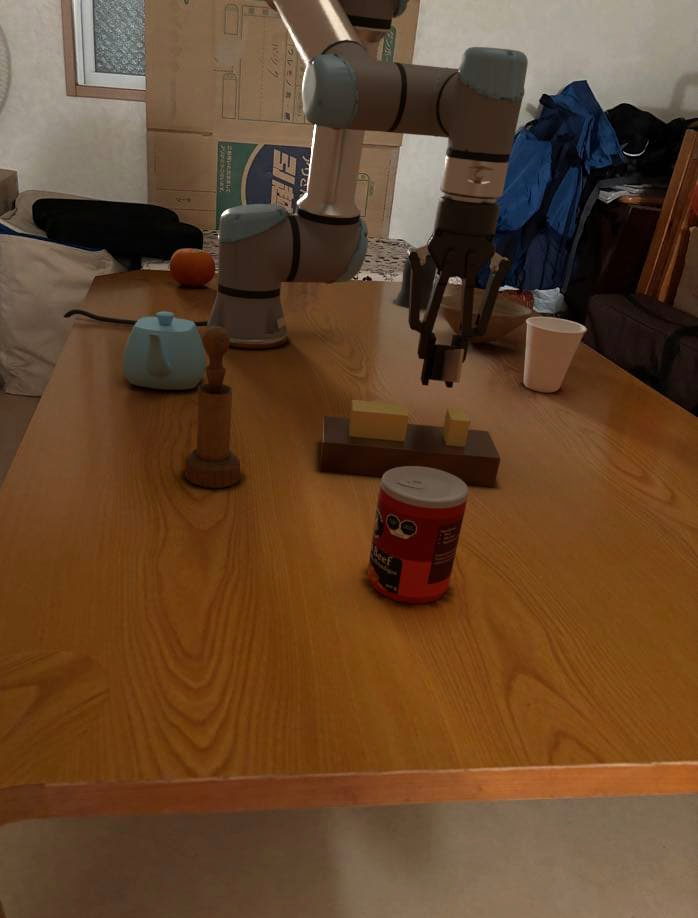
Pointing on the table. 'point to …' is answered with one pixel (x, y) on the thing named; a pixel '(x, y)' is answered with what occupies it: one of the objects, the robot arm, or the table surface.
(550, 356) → the cup
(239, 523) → the table surface
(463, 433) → the butter slice
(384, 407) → the butter
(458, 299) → the bowl
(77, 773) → the table surface
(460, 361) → the knife
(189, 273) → the fruit
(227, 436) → the mortar and pestle
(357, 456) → the board
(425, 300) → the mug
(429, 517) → the canned food
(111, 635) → the table surface
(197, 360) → the teapot
